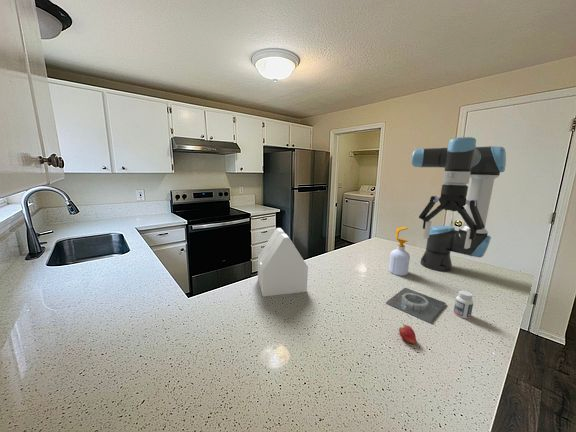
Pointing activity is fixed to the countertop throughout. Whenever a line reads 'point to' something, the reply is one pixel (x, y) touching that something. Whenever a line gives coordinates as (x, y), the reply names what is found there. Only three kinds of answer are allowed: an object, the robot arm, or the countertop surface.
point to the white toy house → (281, 267)
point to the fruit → (407, 334)
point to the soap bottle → (399, 257)
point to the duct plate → (419, 314)
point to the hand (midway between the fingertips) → (445, 242)
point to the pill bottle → (463, 304)
